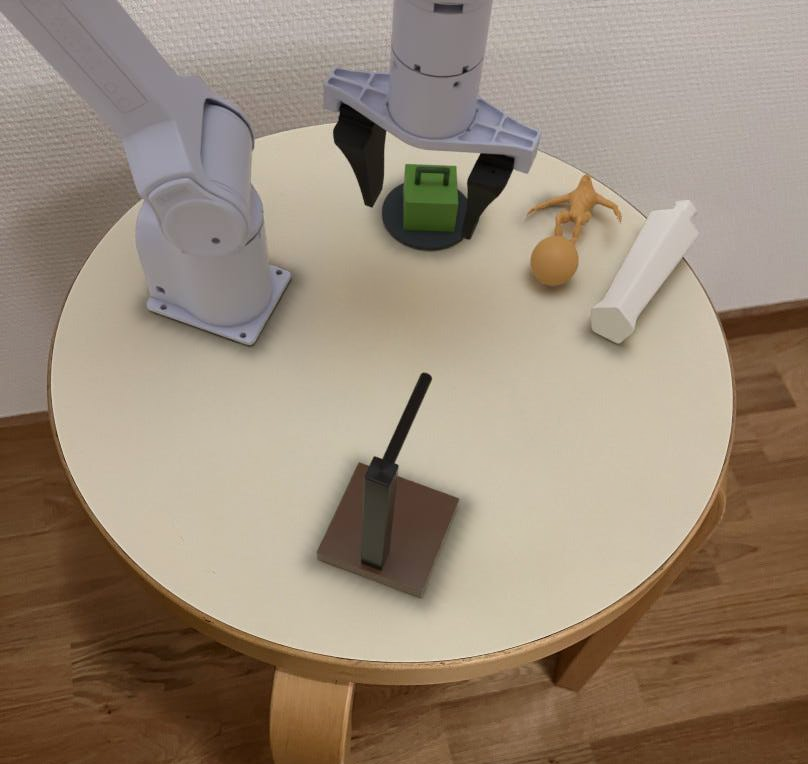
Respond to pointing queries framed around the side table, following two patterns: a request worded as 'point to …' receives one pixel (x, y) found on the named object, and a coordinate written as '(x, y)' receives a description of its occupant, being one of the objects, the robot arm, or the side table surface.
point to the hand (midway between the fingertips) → (421, 213)
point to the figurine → (558, 254)
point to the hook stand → (390, 517)
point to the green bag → (430, 197)
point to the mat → (420, 239)
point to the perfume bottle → (645, 270)
